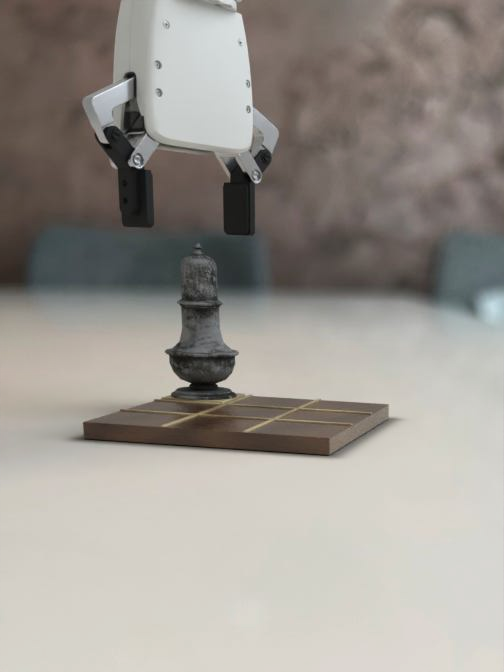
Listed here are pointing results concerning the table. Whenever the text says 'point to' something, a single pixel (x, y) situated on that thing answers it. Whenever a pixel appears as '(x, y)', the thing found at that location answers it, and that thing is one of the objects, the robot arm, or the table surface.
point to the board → (242, 423)
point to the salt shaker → (201, 333)
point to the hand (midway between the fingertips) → (190, 231)
